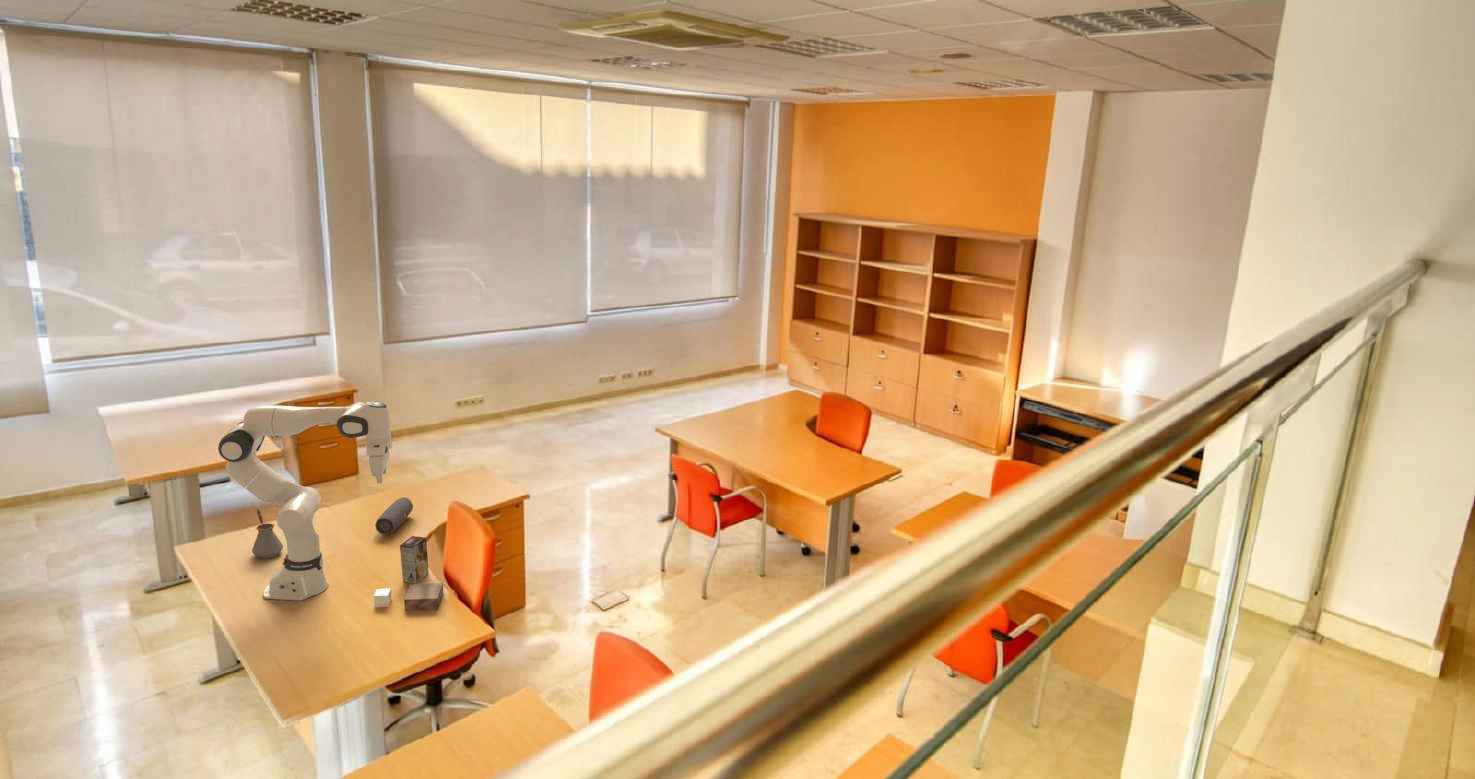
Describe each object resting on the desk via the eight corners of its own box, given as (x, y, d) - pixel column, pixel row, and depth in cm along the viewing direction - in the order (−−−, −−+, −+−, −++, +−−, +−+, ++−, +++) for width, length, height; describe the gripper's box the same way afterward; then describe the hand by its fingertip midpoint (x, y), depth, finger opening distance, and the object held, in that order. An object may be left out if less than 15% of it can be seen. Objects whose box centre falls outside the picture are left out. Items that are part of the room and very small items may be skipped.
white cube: (374, 607, 329) (373, 595, 327) (378, 600, 334) (377, 589, 332) (388, 607, 330) (387, 595, 328) (391, 600, 334) (390, 588, 333)
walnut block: (404, 611, 327) (404, 599, 326) (411, 595, 339) (410, 584, 337) (438, 610, 329) (437, 598, 328) (443, 594, 341) (442, 582, 339)
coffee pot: (286, 556, 364) (282, 523, 360) (255, 563, 357) (251, 530, 353) (276, 537, 380) (272, 505, 376) (246, 543, 374) (242, 511, 370)
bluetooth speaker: (396, 538, 384) (394, 517, 382) (375, 537, 384) (373, 516, 382) (415, 516, 406) (413, 496, 403) (395, 515, 406) (393, 495, 404)
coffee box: (414, 571, 357) (412, 535, 352) (429, 573, 355) (426, 537, 351) (402, 581, 348) (399, 545, 344) (416, 583, 347) (414, 547, 342)
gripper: (374, 434, 336) (377, 468, 340) (365, 453, 317) (368, 488, 321) (391, 434, 338) (394, 467, 341) (384, 452, 319) (386, 487, 322)
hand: (381, 478), depth 331 cm, fingers open, 8 cm apart
